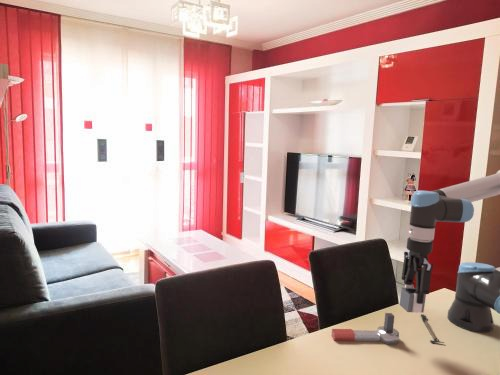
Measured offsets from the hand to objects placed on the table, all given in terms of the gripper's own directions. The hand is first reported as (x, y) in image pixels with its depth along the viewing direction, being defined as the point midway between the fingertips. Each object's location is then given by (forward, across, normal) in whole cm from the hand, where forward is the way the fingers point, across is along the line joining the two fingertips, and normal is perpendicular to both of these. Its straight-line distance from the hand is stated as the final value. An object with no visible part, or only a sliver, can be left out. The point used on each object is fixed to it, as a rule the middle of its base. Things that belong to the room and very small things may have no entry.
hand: (411, 307), depth 123 cm
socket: (0, 0, 0) cm, 0 cm away
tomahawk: (+14, -10, +15) cm, 23 cm away
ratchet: (+13, -4, -13) cm, 19 cm away
